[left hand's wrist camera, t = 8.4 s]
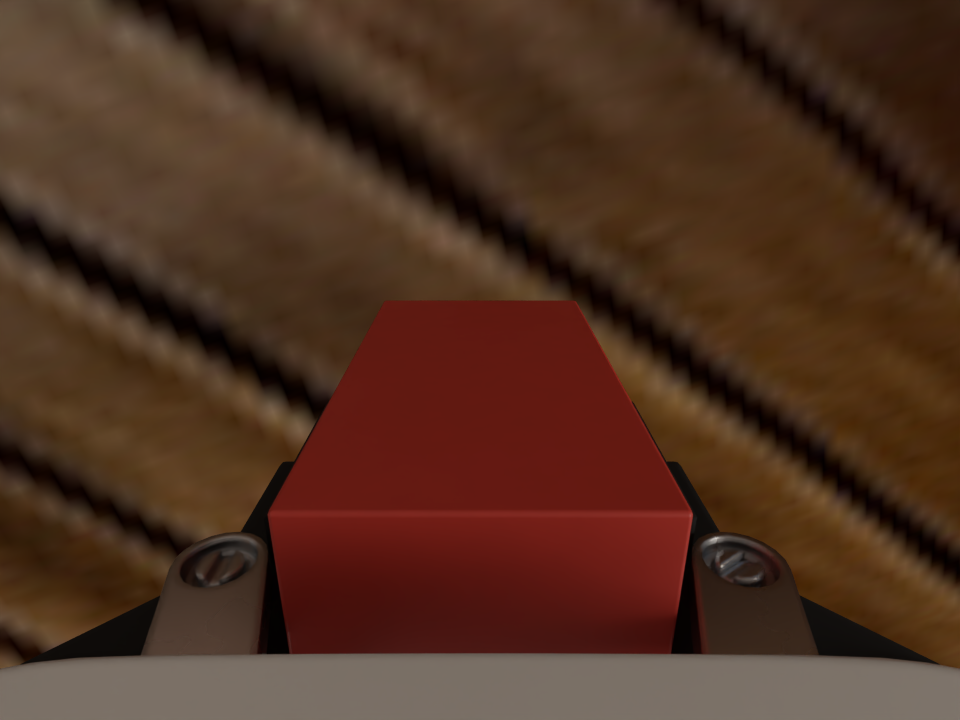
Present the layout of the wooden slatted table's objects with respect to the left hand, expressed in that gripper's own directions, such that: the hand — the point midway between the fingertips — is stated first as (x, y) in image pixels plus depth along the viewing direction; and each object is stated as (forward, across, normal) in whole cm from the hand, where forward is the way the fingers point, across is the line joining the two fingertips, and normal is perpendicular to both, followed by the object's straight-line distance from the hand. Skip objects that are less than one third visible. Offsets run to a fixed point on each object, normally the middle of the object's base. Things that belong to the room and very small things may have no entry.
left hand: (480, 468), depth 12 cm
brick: (+3, 0, 0) cm, 3 cm away
